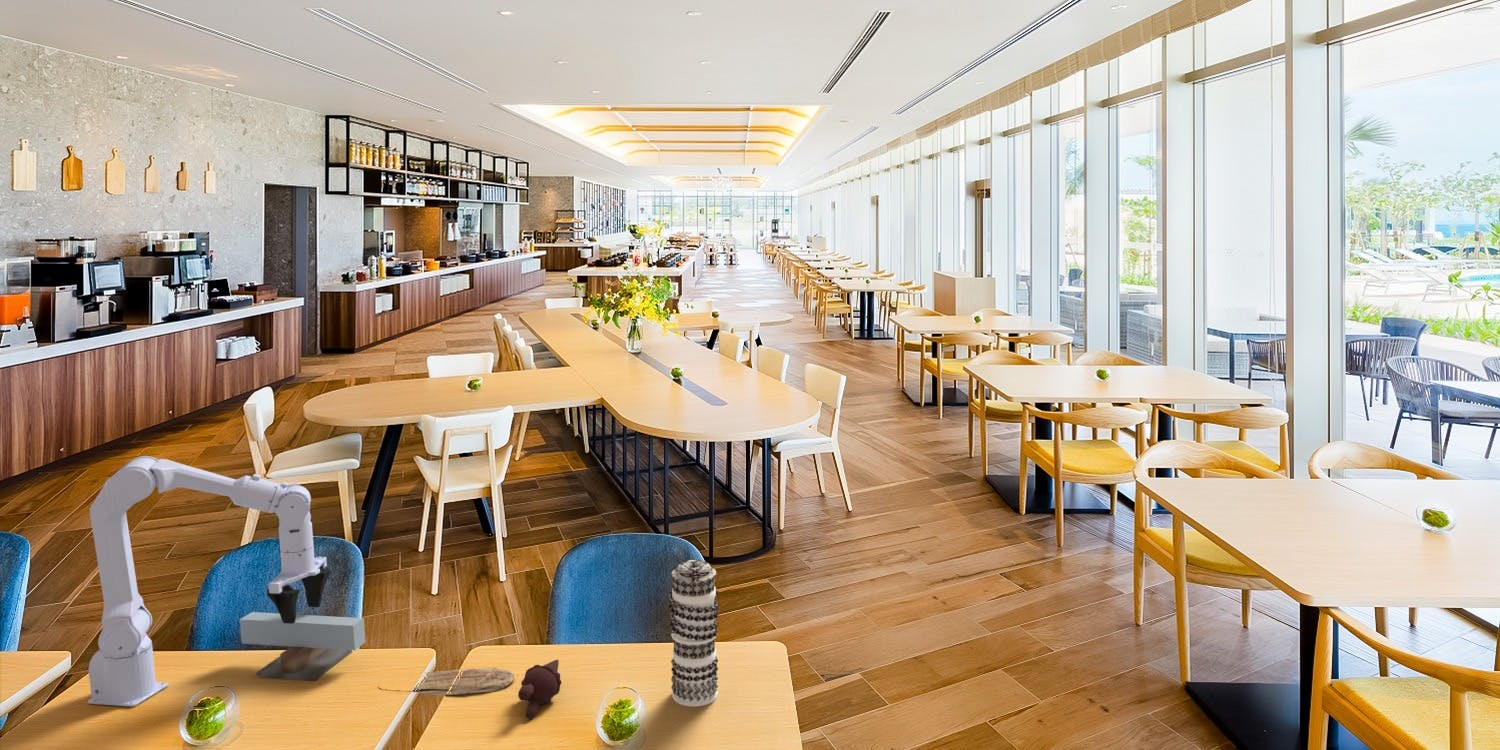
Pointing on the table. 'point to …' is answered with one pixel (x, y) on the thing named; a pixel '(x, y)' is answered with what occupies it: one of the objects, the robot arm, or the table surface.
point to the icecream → (539, 686)
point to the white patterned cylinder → (694, 633)
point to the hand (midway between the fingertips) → (302, 614)
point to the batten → (303, 631)
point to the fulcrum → (303, 663)
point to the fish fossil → (465, 681)
